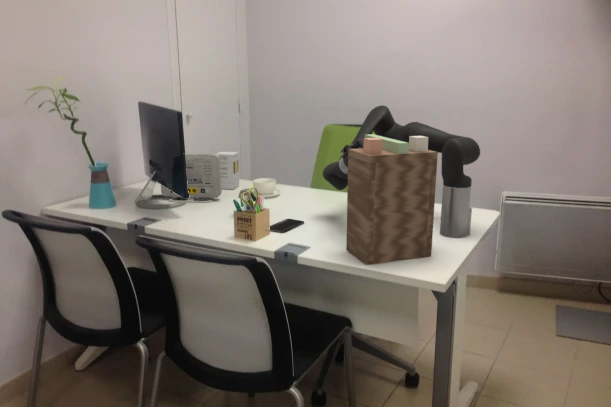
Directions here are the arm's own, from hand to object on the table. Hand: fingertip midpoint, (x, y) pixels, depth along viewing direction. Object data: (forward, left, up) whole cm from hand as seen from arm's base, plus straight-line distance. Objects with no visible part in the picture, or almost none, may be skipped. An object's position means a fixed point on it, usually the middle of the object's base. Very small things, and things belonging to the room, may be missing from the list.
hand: (372, 142), depth 169 cm
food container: (+31, -42, -33) cm, 62 cm away
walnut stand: (0, +13, -33) cm, 35 cm away
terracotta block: (+7, +15, -1) cm, 17 cm away
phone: (+21, -25, -33) cm, 47 cm away
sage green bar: (0, +9, -1) cm, 9 cm away
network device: (+47, -77, -33) cm, 96 cm away
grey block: (-8, +15, -1) cm, 17 cm away
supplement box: (+27, -97, -33) cm, 106 cm away
